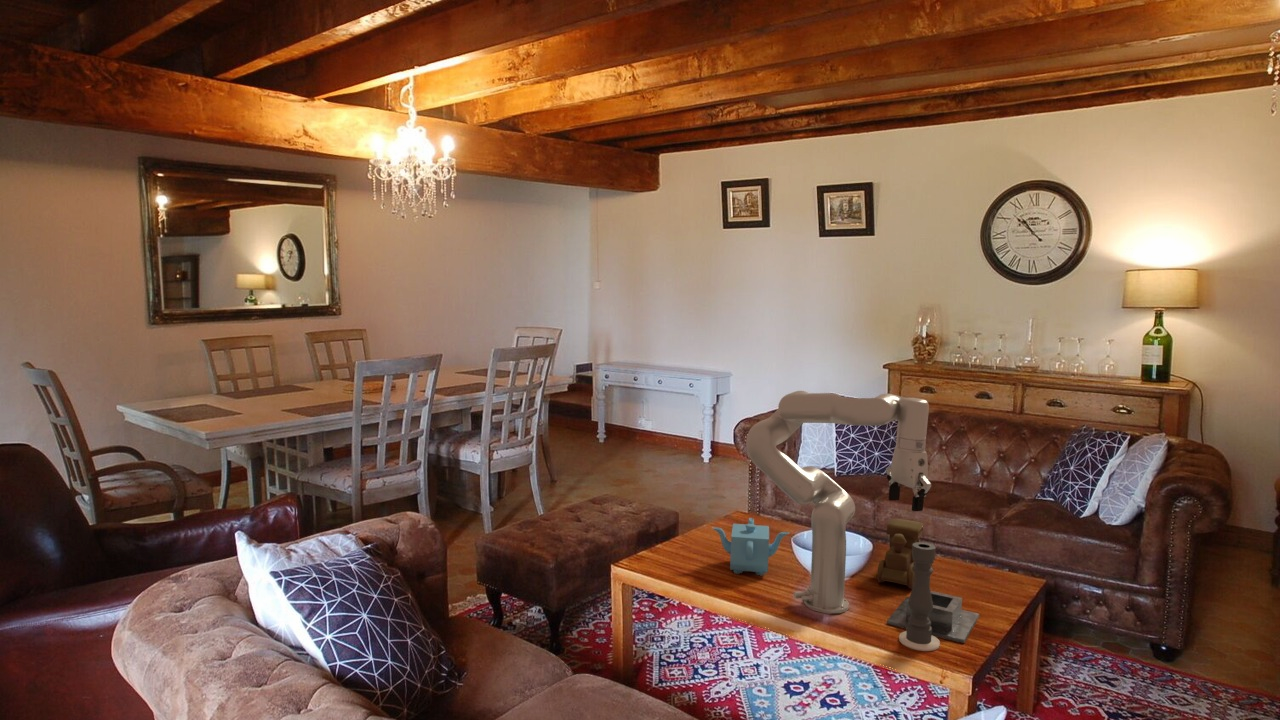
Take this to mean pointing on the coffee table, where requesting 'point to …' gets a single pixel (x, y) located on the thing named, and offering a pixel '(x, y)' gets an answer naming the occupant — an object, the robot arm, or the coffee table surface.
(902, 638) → the coaster
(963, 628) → the socket
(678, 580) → the coffee table surface
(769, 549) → the teakettle
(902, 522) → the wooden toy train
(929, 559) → the candle holder
